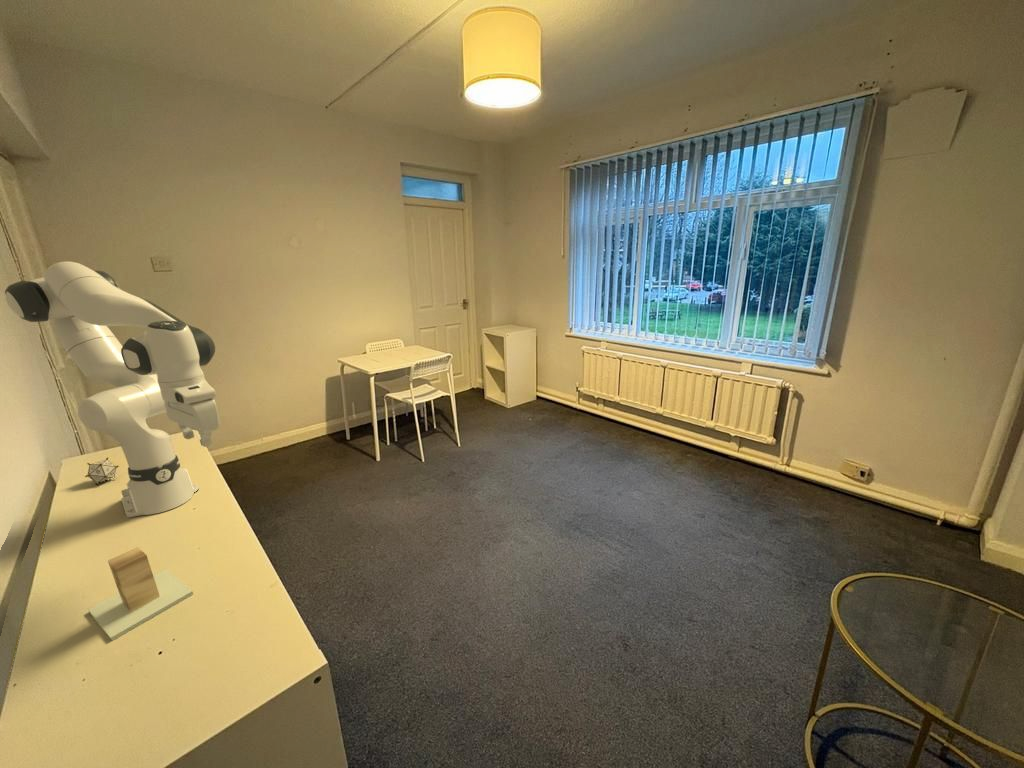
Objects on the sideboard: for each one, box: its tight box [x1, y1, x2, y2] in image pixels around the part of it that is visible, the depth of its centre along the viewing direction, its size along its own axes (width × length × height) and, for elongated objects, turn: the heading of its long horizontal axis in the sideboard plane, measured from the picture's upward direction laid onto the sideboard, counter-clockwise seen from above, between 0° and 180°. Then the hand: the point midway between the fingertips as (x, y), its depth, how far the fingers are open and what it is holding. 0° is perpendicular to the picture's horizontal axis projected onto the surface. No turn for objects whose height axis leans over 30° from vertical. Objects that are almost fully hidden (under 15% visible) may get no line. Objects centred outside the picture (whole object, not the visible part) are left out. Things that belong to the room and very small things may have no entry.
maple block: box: [107, 546, 160, 612], centre depth 89 cm, size 5×5×11 cm
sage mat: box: [87, 568, 194, 641], centre depth 91 cm, size 14×14×1 cm
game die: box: [84, 457, 120, 484], centre depth 144 cm, size 9×8×10 cm
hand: (197, 441), depth 103 cm, fingers open, 8 cm apart
